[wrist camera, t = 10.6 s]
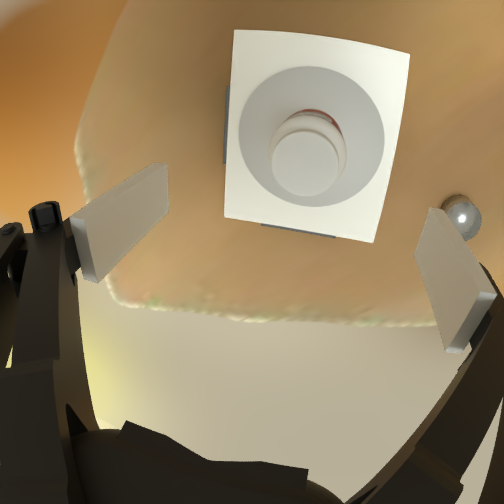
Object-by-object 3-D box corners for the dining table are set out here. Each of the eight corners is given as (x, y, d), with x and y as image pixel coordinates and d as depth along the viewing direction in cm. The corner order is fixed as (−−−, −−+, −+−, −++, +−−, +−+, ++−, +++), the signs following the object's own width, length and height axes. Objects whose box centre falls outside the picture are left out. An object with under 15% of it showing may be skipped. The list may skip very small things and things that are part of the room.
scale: (237, 33, 29) (226, 28, 26) (403, 56, 26) (412, 53, 23) (227, 210, 41) (216, 224, 38) (369, 234, 38) (372, 251, 35)
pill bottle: (334, 173, 31) (337, 217, 22) (276, 159, 32) (253, 196, 23) (348, 116, 28) (360, 133, 19) (287, 101, 29) (267, 112, 19)
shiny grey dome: (445, 190, 33) (453, 199, 30) (477, 199, 32) (486, 208, 30) (434, 226, 36) (441, 237, 33) (465, 233, 35) (473, 244, 32)
